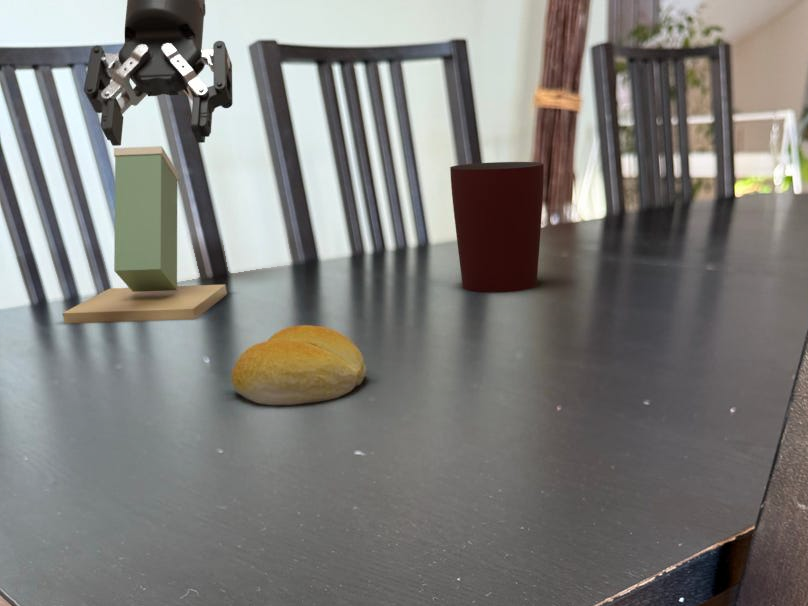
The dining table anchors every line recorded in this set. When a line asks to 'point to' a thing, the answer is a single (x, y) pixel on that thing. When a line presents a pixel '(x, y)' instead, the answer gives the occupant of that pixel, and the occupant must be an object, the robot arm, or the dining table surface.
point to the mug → (498, 224)
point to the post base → (146, 305)
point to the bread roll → (299, 367)
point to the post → (145, 219)
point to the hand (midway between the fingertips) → (155, 138)
